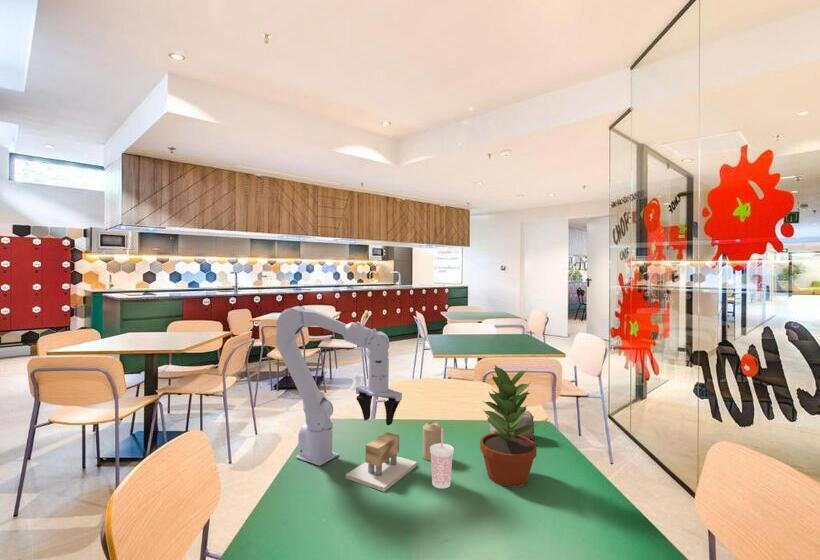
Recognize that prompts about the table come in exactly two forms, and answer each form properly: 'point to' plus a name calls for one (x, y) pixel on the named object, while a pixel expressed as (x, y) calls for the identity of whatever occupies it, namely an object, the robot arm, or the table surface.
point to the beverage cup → (441, 463)
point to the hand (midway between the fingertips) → (377, 421)
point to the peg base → (382, 472)
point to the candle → (430, 437)
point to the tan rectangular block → (382, 449)
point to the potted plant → (508, 434)
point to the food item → (520, 424)
